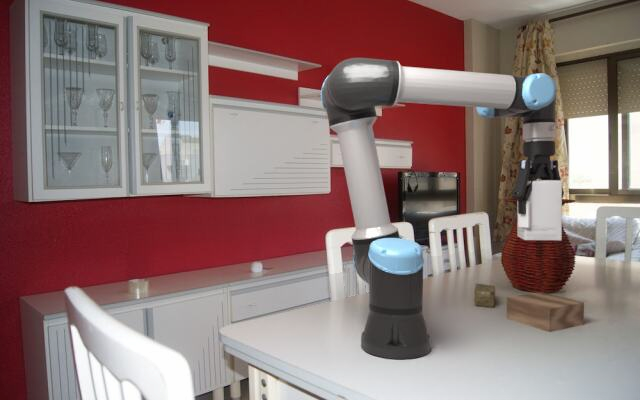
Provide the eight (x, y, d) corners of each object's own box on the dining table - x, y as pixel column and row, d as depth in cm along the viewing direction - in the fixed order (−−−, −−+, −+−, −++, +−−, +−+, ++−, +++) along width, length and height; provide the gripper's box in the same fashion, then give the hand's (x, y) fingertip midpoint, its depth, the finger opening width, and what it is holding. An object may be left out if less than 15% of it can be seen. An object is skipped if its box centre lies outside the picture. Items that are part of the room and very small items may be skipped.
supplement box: (562, 241, 122) (563, 180, 121) (524, 240, 124) (524, 180, 123) (552, 236, 131) (552, 179, 130) (516, 236, 133) (516, 180, 132)
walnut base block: (549, 333, 120) (549, 308, 120) (506, 319, 132) (506, 297, 131) (583, 325, 126) (584, 302, 126) (539, 313, 138) (540, 292, 137)
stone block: (473, 307, 144) (474, 290, 144) (475, 298, 155) (475, 282, 155) (495, 309, 142) (495, 291, 142) (494, 299, 153) (495, 283, 153)
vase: (556, 300, 150) (558, 201, 149) (486, 287, 168) (487, 199, 167) (587, 289, 166) (589, 199, 164) (519, 278, 183) (521, 197, 182)
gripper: (524, 138, 116) (524, 230, 117) (578, 140, 130) (578, 222, 131) (496, 140, 122) (496, 227, 123) (551, 142, 136) (550, 221, 137)
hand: (538, 225), depth 127 cm, fingers closed on supplement box, 12 cm apart
